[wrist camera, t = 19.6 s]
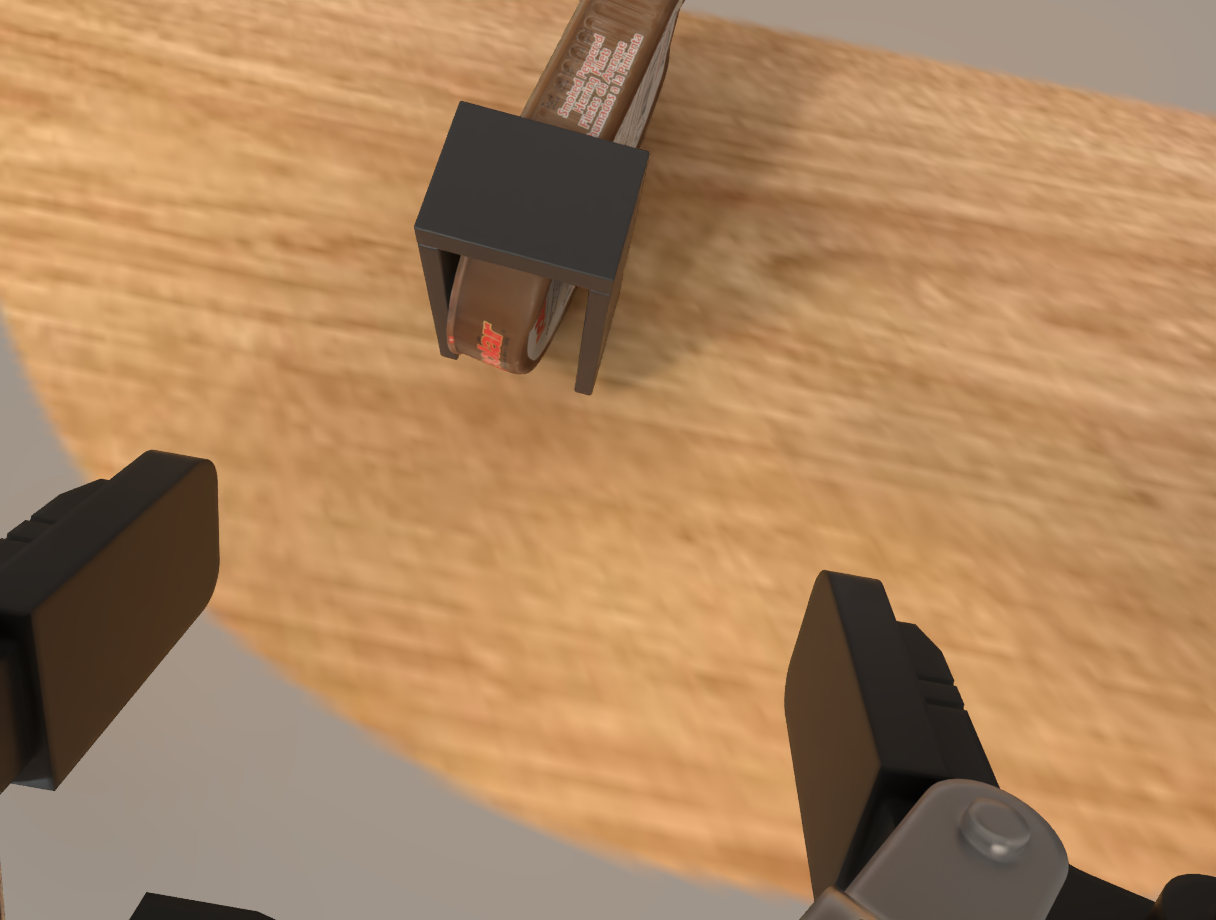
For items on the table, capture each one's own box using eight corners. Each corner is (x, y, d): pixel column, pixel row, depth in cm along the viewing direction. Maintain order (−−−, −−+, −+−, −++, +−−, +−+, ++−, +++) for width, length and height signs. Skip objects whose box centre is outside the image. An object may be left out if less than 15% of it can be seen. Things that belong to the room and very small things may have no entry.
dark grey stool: (619, 293, 32) (650, 151, 24) (591, 396, 31) (613, 281, 23) (474, 254, 32) (459, 99, 24) (440, 356, 30) (413, 227, 23)
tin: (604, 72, 36) (623, -126, 29) (678, 98, 36) (717, -93, 28) (448, 392, 31) (417, 260, 23) (533, 424, 31) (531, 302, 23)
